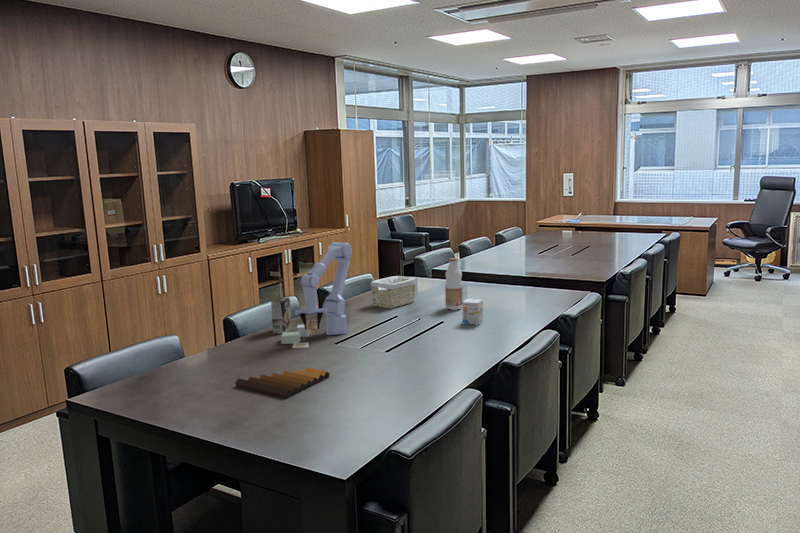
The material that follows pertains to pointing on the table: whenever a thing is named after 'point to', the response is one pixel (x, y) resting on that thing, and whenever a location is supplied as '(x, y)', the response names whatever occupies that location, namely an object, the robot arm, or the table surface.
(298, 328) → the grey cube
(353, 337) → the table surface
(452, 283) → the fruit juice
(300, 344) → the card
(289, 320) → the coffee box
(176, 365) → the table surface
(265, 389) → the pan flute
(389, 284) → the storage basket
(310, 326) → the maple cube
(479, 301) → the ink box
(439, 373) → the table surface
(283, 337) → the base block
